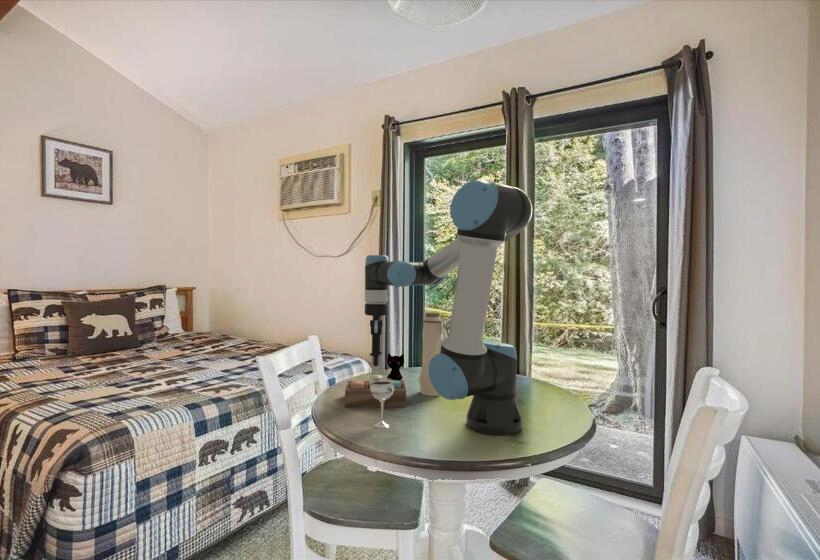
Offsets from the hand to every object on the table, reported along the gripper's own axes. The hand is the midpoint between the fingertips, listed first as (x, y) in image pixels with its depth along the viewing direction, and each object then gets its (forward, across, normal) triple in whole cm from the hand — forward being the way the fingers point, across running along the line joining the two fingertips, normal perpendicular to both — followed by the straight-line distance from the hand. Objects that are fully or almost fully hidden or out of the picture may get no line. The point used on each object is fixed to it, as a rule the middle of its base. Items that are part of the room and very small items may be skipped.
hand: (375, 374), depth 139 cm
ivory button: (+6, 0, 0) cm, 6 cm away
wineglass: (+9, -21, -2) cm, 23 cm away
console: (+9, 0, 0) cm, 9 cm away
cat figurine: (+9, +18, -7) cm, 21 cm away
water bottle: (+9, +8, -20) cm, 23 cm away
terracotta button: (+8, 0, +6) cm, 10 cm away
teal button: (+8, 0, -6) cm, 10 cm away
